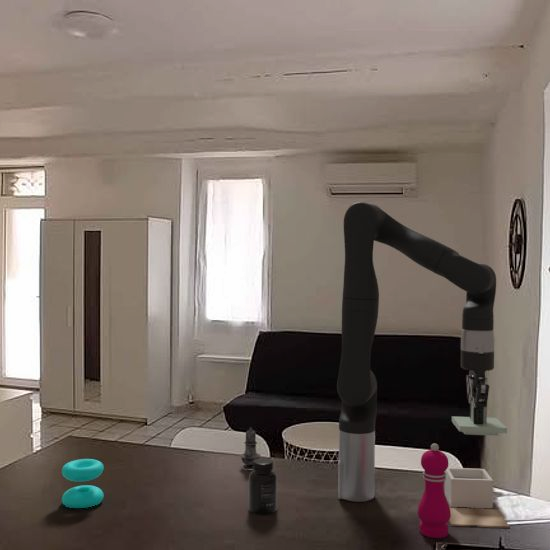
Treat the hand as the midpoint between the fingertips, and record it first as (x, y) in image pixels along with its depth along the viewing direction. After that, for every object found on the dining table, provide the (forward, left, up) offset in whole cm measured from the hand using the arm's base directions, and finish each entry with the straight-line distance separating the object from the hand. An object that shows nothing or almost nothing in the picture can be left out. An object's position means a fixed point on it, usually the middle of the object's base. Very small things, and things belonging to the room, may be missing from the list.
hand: (476, 421), depth 154 cm
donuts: (-95, 0, -23) cm, 98 cm away
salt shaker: (-57, +32, -23) cm, 70 cm away
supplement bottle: (-50, 0, -23) cm, 56 cm away
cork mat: (0, 0, -23) cm, 23 cm away
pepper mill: (-11, -9, -23) cm, 27 cm away
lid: (0, 0, -2) cm, 2 cm away
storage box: (+1, +11, -23) cm, 25 cm away
